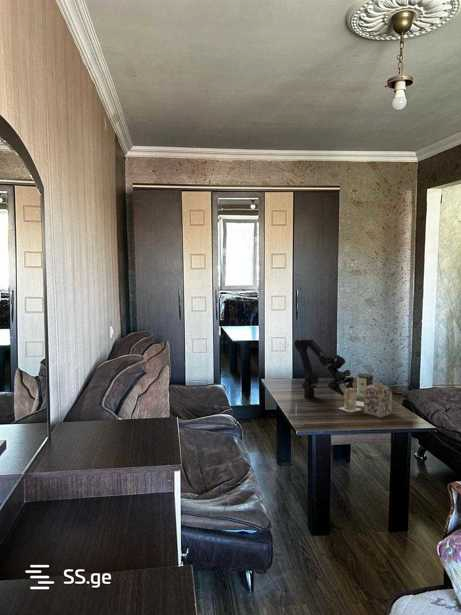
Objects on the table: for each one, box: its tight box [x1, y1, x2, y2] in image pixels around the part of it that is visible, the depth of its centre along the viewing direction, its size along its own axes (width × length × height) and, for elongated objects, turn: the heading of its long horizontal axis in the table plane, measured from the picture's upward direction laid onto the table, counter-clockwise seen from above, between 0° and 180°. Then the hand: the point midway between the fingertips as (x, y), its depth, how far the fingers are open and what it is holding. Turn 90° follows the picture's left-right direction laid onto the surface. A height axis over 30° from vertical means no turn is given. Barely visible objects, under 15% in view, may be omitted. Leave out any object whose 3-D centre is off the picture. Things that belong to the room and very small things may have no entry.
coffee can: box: [356, 373, 374, 398], centre depth 303 cm, size 10×10×14 cm
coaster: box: [356, 400, 364, 408], centre depth 284 cm, size 9×9×1 cm
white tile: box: [338, 406, 363, 413], centre depth 273 cm, size 10×10×1 cm
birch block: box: [343, 387, 358, 411], centre depth 273 cm, size 5×5×12 cm
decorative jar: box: [363, 381, 393, 418], centre depth 265 cm, size 12×12×18 cm
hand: (348, 394), depth 274 cm, fingers open, 9 cm apart
